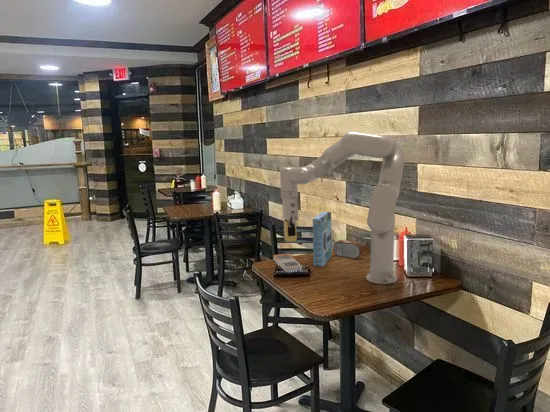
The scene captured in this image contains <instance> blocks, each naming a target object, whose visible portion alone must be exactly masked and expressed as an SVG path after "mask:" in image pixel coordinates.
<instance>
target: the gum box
mask: <svg viewBox="0 0 550 412" xmlns="http://www.w3.org/2000/svg"><path fill="white" fill-rule="evenodd" d="M332 243H333V242H332V212H330V211H321V212H320V213H319V214H318V215H316V216H315V217H314V218H312V252H313V255H312V257H313V258H312V260H313V261H312V263H313V264H312V265H313V266H314V267H324V266H325V265H326V263H327V262H328V261H329V260H330V259H331V258H332V255H333V253H332V251H333V249H332V247H333V246H332V245H333V244H332Z"/></svg>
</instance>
